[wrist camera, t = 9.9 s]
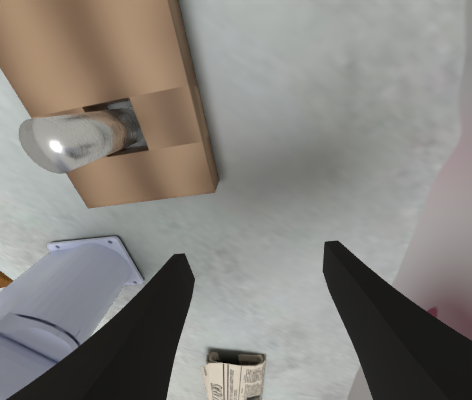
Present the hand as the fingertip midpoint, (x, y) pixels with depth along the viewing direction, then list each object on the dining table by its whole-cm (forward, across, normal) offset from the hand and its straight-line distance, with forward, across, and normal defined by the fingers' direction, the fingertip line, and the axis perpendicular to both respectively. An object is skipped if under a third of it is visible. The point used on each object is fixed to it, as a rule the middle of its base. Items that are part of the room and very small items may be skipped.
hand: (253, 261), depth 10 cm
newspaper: (+10, +10, +48) cm, 50 cm away
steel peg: (+9, +9, -7) cm, 15 cm away
